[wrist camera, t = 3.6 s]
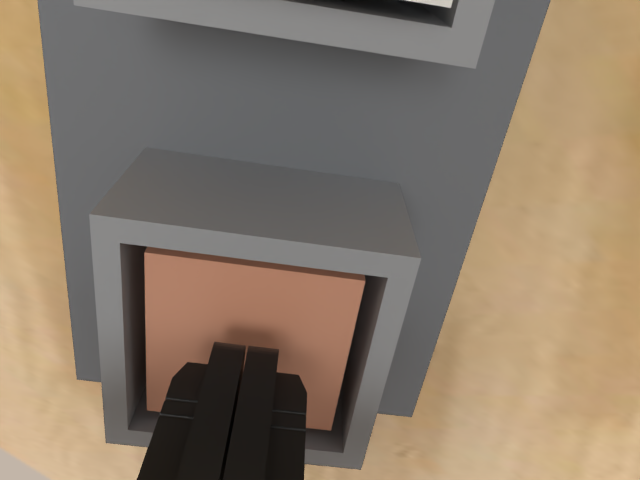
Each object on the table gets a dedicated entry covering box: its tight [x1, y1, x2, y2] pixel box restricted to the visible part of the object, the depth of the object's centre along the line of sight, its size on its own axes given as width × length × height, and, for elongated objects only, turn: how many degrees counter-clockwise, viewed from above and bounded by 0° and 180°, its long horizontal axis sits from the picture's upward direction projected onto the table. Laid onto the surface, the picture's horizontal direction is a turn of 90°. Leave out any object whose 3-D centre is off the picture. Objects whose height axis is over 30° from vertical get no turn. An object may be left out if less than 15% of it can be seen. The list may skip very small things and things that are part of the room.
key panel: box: [38, 0, 550, 470], centre depth 13 cm, size 22×12×6 cm, turn 172°
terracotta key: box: [144, 247, 365, 431], centre depth 14 cm, size 5×5×2 cm
